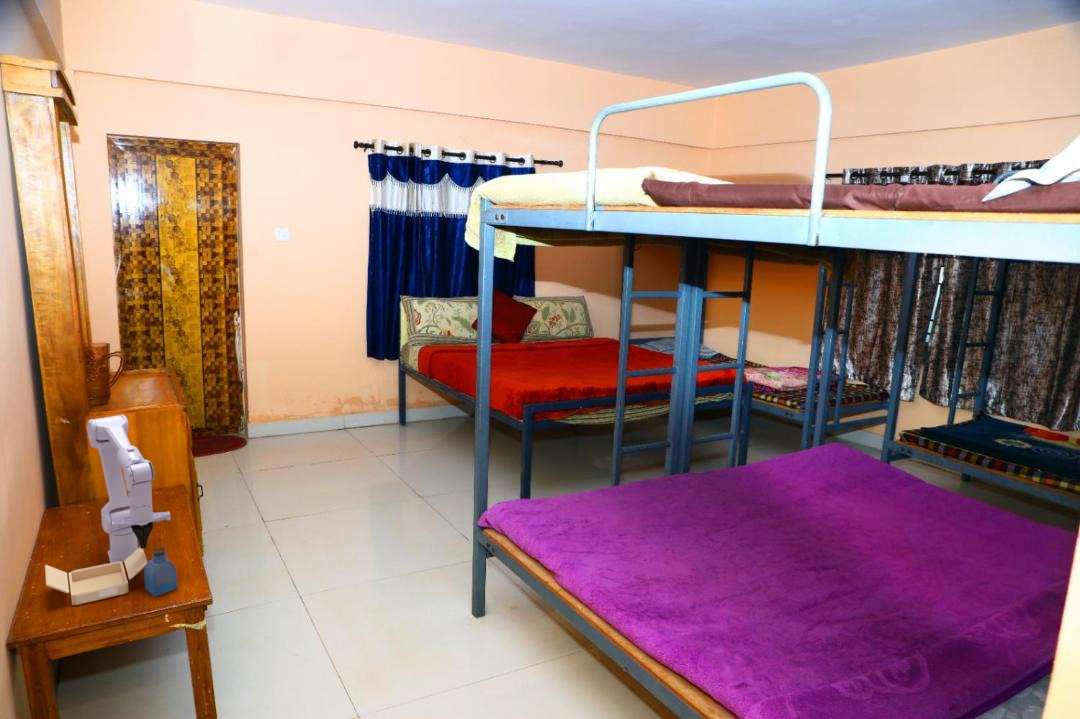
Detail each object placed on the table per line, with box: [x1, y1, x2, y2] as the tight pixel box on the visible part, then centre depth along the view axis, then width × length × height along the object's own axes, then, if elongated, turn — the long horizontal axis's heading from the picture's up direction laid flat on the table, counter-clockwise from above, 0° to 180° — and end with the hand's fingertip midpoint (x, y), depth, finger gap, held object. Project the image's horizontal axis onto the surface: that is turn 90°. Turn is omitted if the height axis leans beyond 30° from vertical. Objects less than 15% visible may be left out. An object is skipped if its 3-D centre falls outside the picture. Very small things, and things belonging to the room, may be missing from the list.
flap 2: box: [123, 546, 149, 581], centre depth 201 cm, size 12×1×6 cm
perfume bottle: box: [143, 546, 178, 598], centre depth 197 cm, size 6×6×12 cm
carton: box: [68, 561, 129, 606], centre depth 196 cm, size 15×13×3 cm
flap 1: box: [44, 564, 70, 594], centre depth 190 cm, size 12×1×6 cm
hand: (143, 546), depth 201 cm, fingers closed
